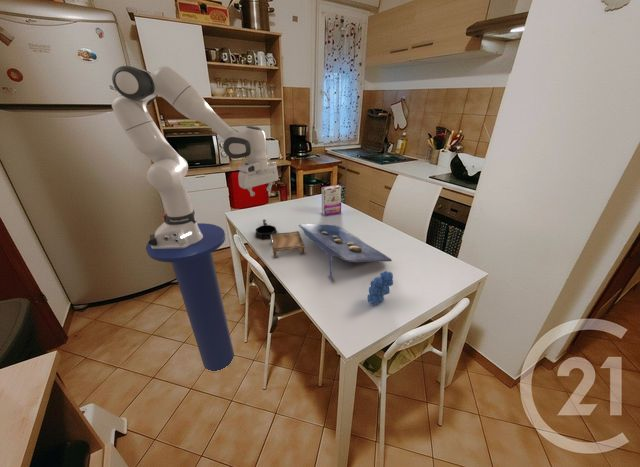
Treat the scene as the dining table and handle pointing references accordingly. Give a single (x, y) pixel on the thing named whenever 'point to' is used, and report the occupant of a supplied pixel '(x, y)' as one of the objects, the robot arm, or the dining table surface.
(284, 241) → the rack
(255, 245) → the dining table surface
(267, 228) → the pan
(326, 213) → the candy bar box
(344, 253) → the blue piece
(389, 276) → the grapes
